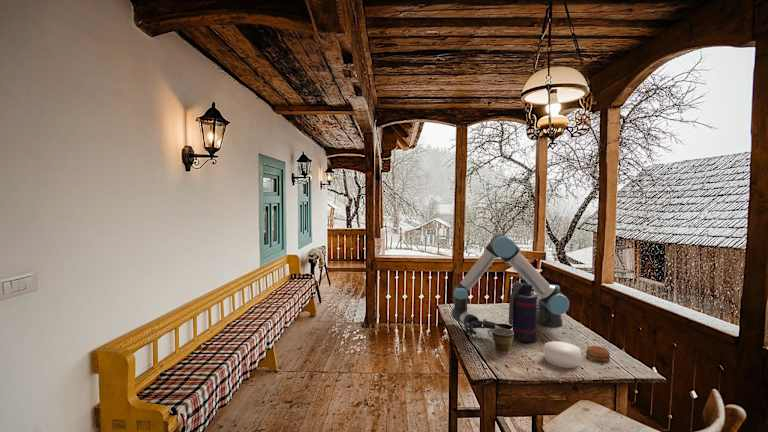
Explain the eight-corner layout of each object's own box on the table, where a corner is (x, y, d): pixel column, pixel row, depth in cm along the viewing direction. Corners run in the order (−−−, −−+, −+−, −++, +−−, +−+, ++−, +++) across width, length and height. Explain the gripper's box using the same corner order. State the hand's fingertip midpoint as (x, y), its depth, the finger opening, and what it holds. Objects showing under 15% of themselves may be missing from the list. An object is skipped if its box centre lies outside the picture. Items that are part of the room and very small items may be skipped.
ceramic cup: (517, 351, 181) (517, 331, 181) (508, 357, 174) (508, 336, 173) (492, 344, 190) (492, 325, 189) (483, 350, 183) (483, 330, 182)
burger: (614, 362, 168) (614, 352, 168) (593, 362, 168) (593, 352, 168) (602, 353, 178) (602, 344, 178) (582, 353, 178) (582, 344, 178)
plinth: (562, 351, 180) (562, 339, 180) (588, 364, 166) (588, 351, 165) (537, 356, 175) (537, 343, 175) (562, 370, 161) (562, 356, 161)
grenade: (530, 335, 202) (530, 280, 201) (540, 343, 190) (541, 285, 189) (505, 335, 201) (505, 281, 200) (514, 344, 190) (514, 286, 188)
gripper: (488, 324, 211) (512, 337, 191) (449, 329, 203) (470, 344, 183) (488, 311, 211) (512, 323, 191) (449, 316, 203) (470, 329, 183)
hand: (491, 333), depth 187 cm, fingers open, 13 cm apart
